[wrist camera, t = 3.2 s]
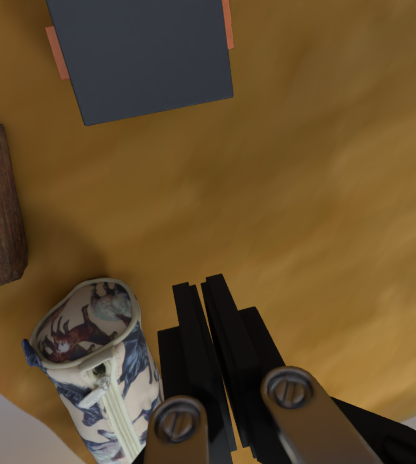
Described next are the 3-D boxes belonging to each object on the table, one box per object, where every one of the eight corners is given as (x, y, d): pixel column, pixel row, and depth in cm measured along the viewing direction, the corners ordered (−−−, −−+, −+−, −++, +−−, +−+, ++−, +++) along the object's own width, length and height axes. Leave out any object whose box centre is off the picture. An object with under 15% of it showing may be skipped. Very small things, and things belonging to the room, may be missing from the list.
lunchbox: (201, -35, 23) (227, -68, 16) (218, 85, 26) (245, 95, 20) (52, -10, 22) (19, -36, 16) (88, 110, 25) (73, 129, 19)
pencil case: (35, 288, 30) (-5, 383, 21) (136, 262, 31) (137, 343, 22) (116, 447, 40) (111, 555, 31) (191, 425, 41) (207, 525, 32)
